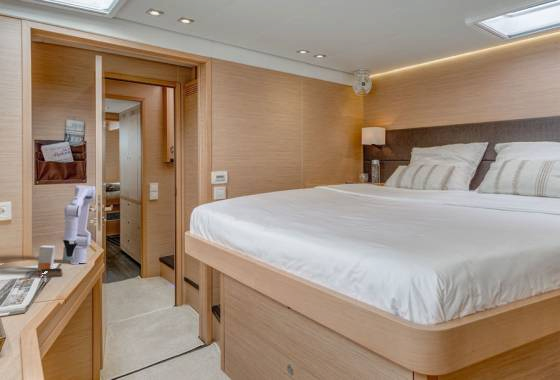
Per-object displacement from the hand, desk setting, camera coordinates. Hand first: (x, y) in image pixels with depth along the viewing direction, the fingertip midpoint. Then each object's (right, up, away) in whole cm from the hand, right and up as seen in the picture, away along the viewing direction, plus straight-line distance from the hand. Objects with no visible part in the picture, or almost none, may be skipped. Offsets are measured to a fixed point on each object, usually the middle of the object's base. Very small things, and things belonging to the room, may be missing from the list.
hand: (68, 255), depth 182 cm
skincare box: (-14, -8, +4) cm, 17 cm away
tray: (-7, -9, -4) cm, 12 cm away
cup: (0, -2, 0) cm, 2 cm away
